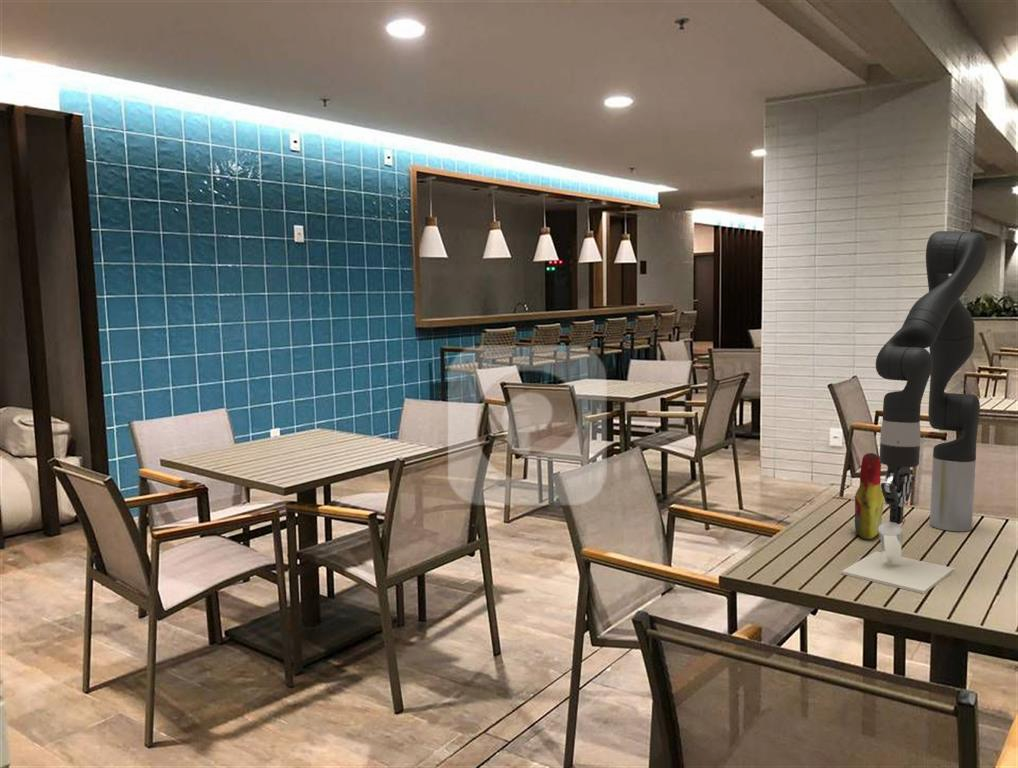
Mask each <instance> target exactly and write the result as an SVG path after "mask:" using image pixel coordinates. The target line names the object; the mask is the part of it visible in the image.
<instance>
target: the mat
mask: <svg viewBox="0 0 1018 768" xmlns="http://www.w3.org/2000/svg"><path fill="white" fill-rule="evenodd" d="M953 572H955V568H954V567H950V566H947V565H941V564H937V563H932V562H927V561H922V560H919V559H915V558H914V559H913V558H909V557H904V556H902V560H901V564H899V565H898V566H890V565H887V564H886V563H885V561H884V556H883V551H882V552H880V551H877V550H876V551H874V552H872V553H871V554H868V555H867V556H865V557H864V558H862V559H860V560H858V561H857V562H855V563H853V564H851V565H849V566H848V567H846V568H844V569H843V570H841V575H845V576H849V577H852V578H857V579H862V580H864V581H868V582H869V581H870V582H873V583H877V584H882V585H885V586H890V587H894V588H898V589H902V590H907V591H911V592H914V593H919V594H924V595H925V594H926V593H927V592H929V591H930V590H931V589H932V588H934V587H935V586H937V585H938V584H939V583H940V582H942V581H943V580H944V579H946V578H947V577H948V576H950V575H952V574H953Z"/></svg>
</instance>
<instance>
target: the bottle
mask: <svg viewBox="0 0 1018 768" xmlns="http://www.w3.org/2000/svg"><path fill="white" fill-rule="evenodd" d="M879 458H880V455H877V454H876V453H873V452H872V453H871V452H869V453H865V454H864V455H863V457H862V460H861V465H860V475H859V486H858V488H857V490H856V492H855V496H854V529H855V532H856V534H857V535H858V536H859V538H862V539H867V540H871V539H873V538H874V537H876V536H877V535H879V531H878V527H879V526H880V525H881V524H882V521H883V512H884V504H885V499H884V496H883V493H882V489H881V483H882V482H881V478H882V474H881V473H882V463H880V461H879Z"/></svg>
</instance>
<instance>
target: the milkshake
mask: <svg viewBox="0 0 1018 768" xmlns="http://www.w3.org/2000/svg"><path fill="white" fill-rule="evenodd" d="M905 523H906V519H905V518H903V522H902V523H901V524H897V523H894V522H890V521H886V522H881V525H880V526H879V527H878V531H879V533H878V535H879V540H880V544H881V548H882V553H883V556H884V561H885V563H886V564H887V565H890V566H898V565H899V564H901V560H902V557H903V555H902V554H903V553H902V543H903V542H902V541H903V540H902V539H903V526H904V524H905Z"/></svg>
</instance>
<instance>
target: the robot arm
mask: <svg viewBox="0 0 1018 768" xmlns="http://www.w3.org/2000/svg"><path fill="white" fill-rule="evenodd" d="M986 239H987V238H985V235H984V234H982V233H980V232H975V231H974V232H973V231H956V230H955V231H953V230H952V231H950V230H940V231H939V230H937V231H935V232H933V233H931V235H930V236H929V237H928V241H927V244H926V248H925V249H926V250H925V266H926V276H927V287H928V292H927V293H925V294H924V295H922V296H921V297H920V298H919V299H917V301H916V302H915V303H914V304H913V305H912V307H911V308H910V310H909V311H908V314H907V316H906V318H905V320H904V322H903V324H902V326H901V328H900V329H899V330H897V331H896V332H895V334H893V336H892V337H890V339H889V340H888V341H887V342H886V343H884V345H883V346H882V347H881V349H880V350H879V352H878V354H877V356H876V359H875V370H876V372H877V374H878V376H880V377H881V378H883V379H886V380H889V381H901V382H903V381H904V382H906V383H905V386H904V388H903V389H902V390H898V391H891V392H888V393H885V395H884V396H883V405H882V406H883V407H882V423H881V428H880V440H879V457H880V458H879V461H880V463H881V465H885V466H887V470H886V472H885V479H884V480H885V482H881V483H880V486H881V490H882V493H883V498H884V504H886V505H888V506H889V521H888V522H894V523H897V524H899V525H902V524H903V522H904V508H905V506H906V505H907V504H906V502H909V500H910V497H911V492H912V490H913V486H914V483H915V481H916V478H915V476H914V475H912V473H911V468H914V467H918V466H919V465H920V452H921V437H922V436H921V433H922V432H921V411H922V410H921V408H922V407H921V406H922V405H921V404H922V401H923V397H924V393H925V391H926V387H927V384H928V382H929V395H928V396H929V397H928V415H927V416H928V422H929V425H930V426H931V428H932V429H934V430H938V431H949V432H961V436H960V437H958V438H956V439H953V440H950V441H947V442H941V443H938V444H935V445H934V447H933V451H932V469H931V470H932V471H931V475H932V476H931V489H930V491H931V493H930V508H929V510H930V511H929V525H930V526H931V527H933V528H935V529H939V530H944V531H950V532H968V531H971V530H973V517H974V516H973V515H974V500H975V499H974V498H975V481H976V480H975V478H976V465H977V464H976V463H977V462H976V460H977V458H976V457H977V439H978V428H979V421H980V413H981V412H980V410H981V404H980V399H979V397H978V396H977V395H976V394H971V393H954V392H953V393H952V392H945V390H946V388H947V386H948V384H949V382H950V381H951V379H952V378H953V377H954V375H955V374H956V373H957V372H958V371H959V370H960V369H961V368H962V366H963V365H965V363H966V361H968V360H969V358H970V357H971V356H972V354H973V351H974V349H975V322H974V319H973V316H972V315H971V314H970V312H969V310H968V309H967V308H966V306H965V305H964V304H963V302H962V301H961V300H960V298H961V297H962V295H963V294H964V293H965V291H966V290H967V289H968V288H969V286H970V285H971V283H972V282H973V280H974V279H975V278H976V276H977V274H978V273H979V272H980V270H981V268H982V266H983V265H984V262H985V261H986V260H985V259H986V256H987V252H988V251H987V248H988V244H987V240H986ZM928 348H929V351H928V350H927V349H928ZM929 379H930V380H929Z"/></svg>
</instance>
